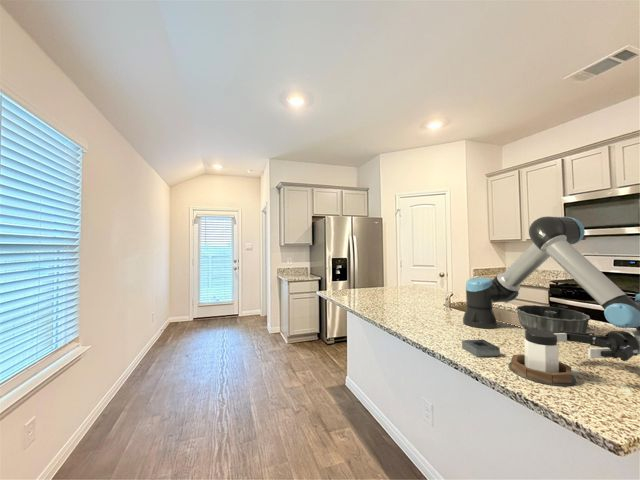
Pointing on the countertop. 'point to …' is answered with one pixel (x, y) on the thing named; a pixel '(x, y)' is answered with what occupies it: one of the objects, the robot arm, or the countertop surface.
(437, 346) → the countertop surface
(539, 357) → the jar
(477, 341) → the square socket
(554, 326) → the bundt pan
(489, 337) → the countertop surface
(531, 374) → the brown octagonal tray
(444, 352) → the countertop surface
